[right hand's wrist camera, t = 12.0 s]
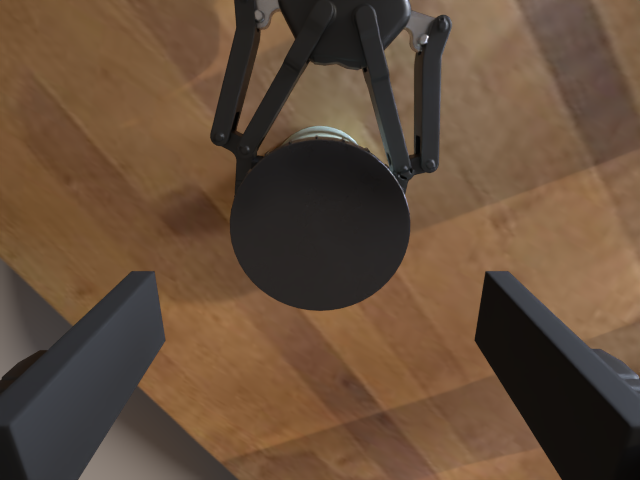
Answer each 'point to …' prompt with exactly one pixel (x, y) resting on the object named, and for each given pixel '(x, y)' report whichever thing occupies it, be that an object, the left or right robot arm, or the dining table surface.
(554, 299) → the dining table surface
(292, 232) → the lid
